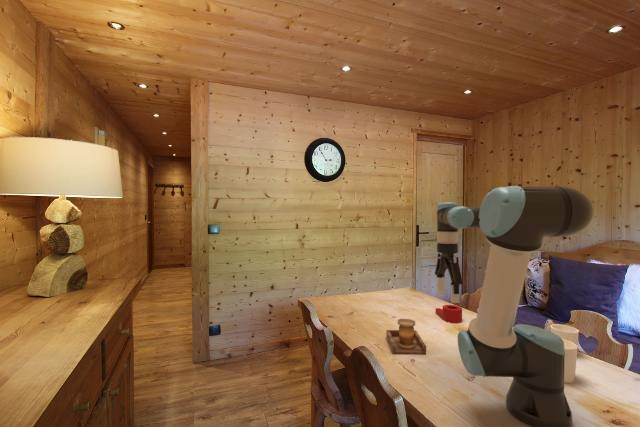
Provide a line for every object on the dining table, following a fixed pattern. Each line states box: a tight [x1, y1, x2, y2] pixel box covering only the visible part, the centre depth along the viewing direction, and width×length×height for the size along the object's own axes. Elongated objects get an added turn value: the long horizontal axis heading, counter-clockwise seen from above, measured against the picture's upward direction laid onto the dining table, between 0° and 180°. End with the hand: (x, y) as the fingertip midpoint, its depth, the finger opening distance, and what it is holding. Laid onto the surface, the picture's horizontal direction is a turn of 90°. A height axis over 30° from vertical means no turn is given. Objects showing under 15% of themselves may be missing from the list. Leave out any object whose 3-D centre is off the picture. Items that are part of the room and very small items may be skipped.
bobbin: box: [397, 318, 416, 349], centre depth 132 cm, size 7×7×10 cm
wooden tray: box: [385, 329, 427, 356], centre depth 134 cm, size 16×13×4 cm
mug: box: [549, 323, 580, 347], centre depth 127 cm, size 11×9×10 cm
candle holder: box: [562, 339, 579, 384], centre depth 109 cm, size 10×10×12 cm
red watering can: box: [435, 304, 463, 324], centre depth 169 cm, size 18×9×7 cm, turn 14°
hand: (447, 298), depth 122 cm, fingers open, 13 cm apart
